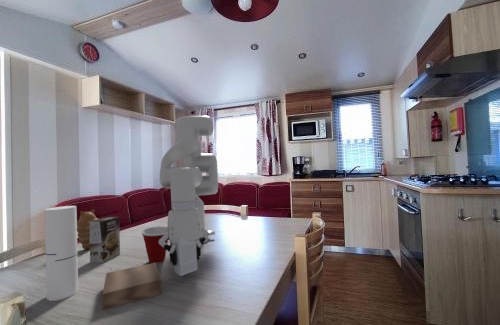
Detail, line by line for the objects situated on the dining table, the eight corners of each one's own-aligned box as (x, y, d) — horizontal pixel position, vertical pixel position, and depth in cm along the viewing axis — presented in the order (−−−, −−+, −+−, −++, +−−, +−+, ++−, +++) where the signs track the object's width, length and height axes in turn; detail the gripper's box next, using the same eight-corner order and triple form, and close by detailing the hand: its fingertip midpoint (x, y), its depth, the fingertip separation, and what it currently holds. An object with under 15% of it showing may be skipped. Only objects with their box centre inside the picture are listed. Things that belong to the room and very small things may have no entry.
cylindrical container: (58, 288, 70) (57, 206, 71) (83, 286, 71) (81, 205, 72) (39, 302, 63) (38, 210, 64) (67, 299, 64) (65, 209, 65)
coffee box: (103, 263, 89) (102, 221, 90) (89, 262, 91) (88, 221, 91) (121, 254, 98) (120, 216, 99) (108, 253, 99) (107, 216, 100)
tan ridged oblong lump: (79, 254, 100) (79, 212, 101) (73, 250, 105) (73, 211, 106) (102, 248, 107) (101, 209, 108) (95, 245, 112) (95, 208, 113)
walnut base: (155, 274, 77) (155, 262, 77) (161, 293, 65) (161, 279, 65) (106, 286, 71) (106, 273, 71) (102, 309, 58) (102, 294, 58)
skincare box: (191, 265, 78) (189, 230, 78) (197, 269, 75) (196, 233, 75) (174, 272, 74) (172, 234, 74) (180, 276, 70) (178, 237, 70)
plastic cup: (153, 268, 82) (152, 234, 83) (136, 263, 88) (135, 231, 88) (177, 257, 91) (176, 227, 92) (160, 253, 97) (159, 224, 98)
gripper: (206, 201, 82) (208, 251, 82) (153, 207, 73) (155, 263, 73) (213, 204, 75) (215, 259, 75) (156, 211, 67) (158, 273, 67)
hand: (185, 260), depth 74 cm, fingers closed on skincare box, 6 cm apart
